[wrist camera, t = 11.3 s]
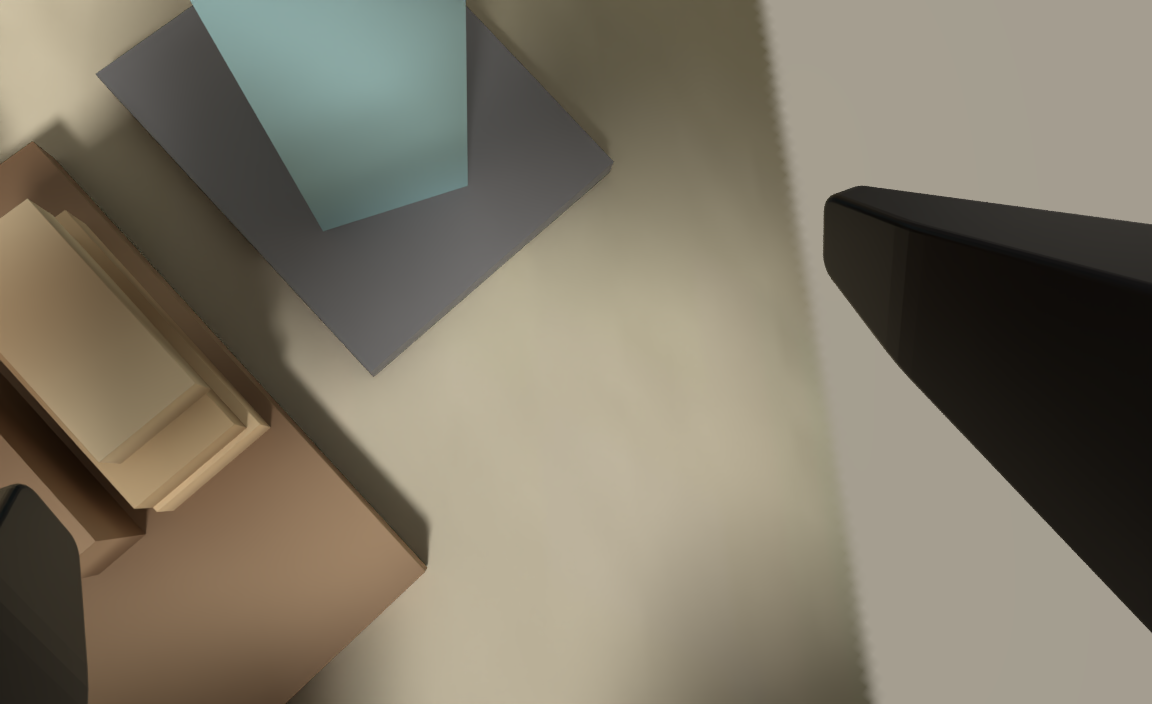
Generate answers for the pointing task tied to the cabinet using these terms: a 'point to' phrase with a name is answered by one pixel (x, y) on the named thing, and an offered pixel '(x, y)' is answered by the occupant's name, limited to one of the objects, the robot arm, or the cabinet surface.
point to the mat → (386, 240)
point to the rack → (171, 471)
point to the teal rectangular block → (353, 95)
